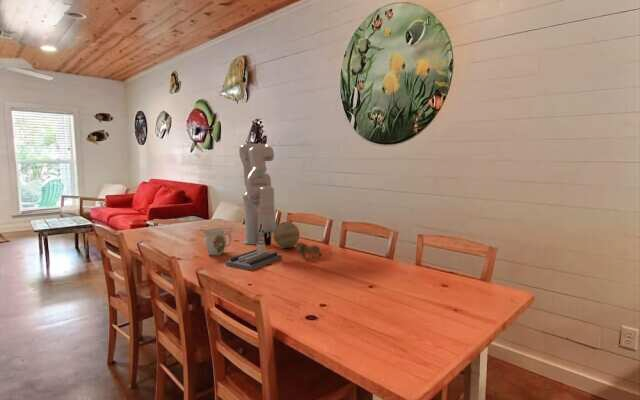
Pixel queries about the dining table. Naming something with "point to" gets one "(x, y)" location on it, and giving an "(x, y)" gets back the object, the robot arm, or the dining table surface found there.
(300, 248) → the lion figurine
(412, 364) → the dining table surface
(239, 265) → the breaker panel
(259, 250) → the knob
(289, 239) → the decorative ball
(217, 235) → the pitcher
